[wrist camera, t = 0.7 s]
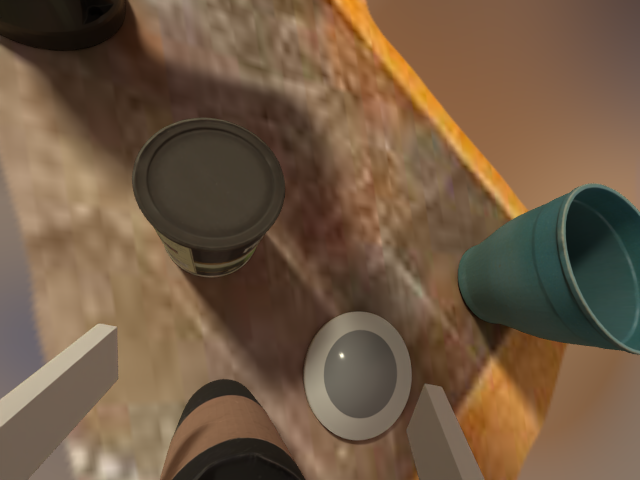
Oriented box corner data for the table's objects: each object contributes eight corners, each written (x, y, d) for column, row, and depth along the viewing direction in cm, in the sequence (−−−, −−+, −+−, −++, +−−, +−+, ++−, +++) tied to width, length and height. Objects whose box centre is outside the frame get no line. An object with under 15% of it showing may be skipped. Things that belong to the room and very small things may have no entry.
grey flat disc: (289, 330, 34) (291, 330, 33) (388, 299, 40) (392, 298, 39) (321, 460, 32) (324, 464, 31) (421, 408, 38) (426, 410, 37)
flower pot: (471, 204, 49) (591, 152, 34) (542, 280, 51) (687, 262, 35) (418, 283, 42) (541, 262, 27) (503, 369, 43) (665, 397, 28)
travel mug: (222, 479, 29) (245, 753, 11) (159, 431, 28) (67, 636, 10) (273, 405, 32) (359, 518, 14) (217, 360, 31) (230, 416, 13)
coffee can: (270, 211, 37) (302, 154, 24) (238, 290, 34) (257, 272, 21) (187, 176, 35) (175, 92, 22) (144, 257, 31) (99, 213, 18)
